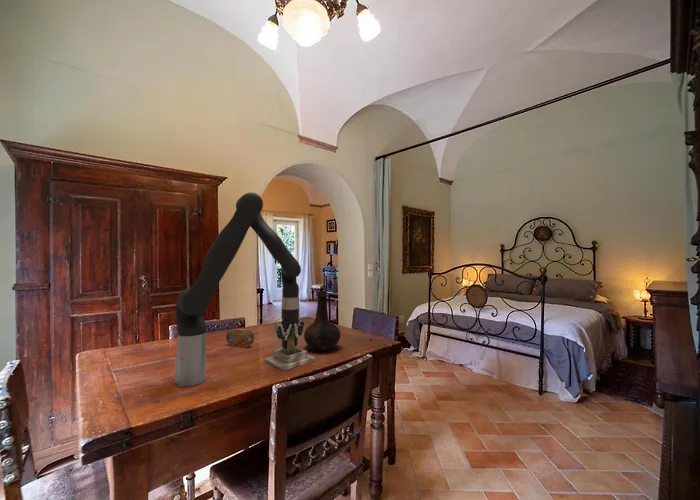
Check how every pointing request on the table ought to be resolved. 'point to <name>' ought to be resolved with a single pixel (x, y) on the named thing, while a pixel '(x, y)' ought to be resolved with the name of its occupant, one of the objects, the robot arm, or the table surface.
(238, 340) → the tin
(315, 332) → the glass bottle
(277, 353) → the grey piece
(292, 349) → the fennel bulb
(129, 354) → the table surface
